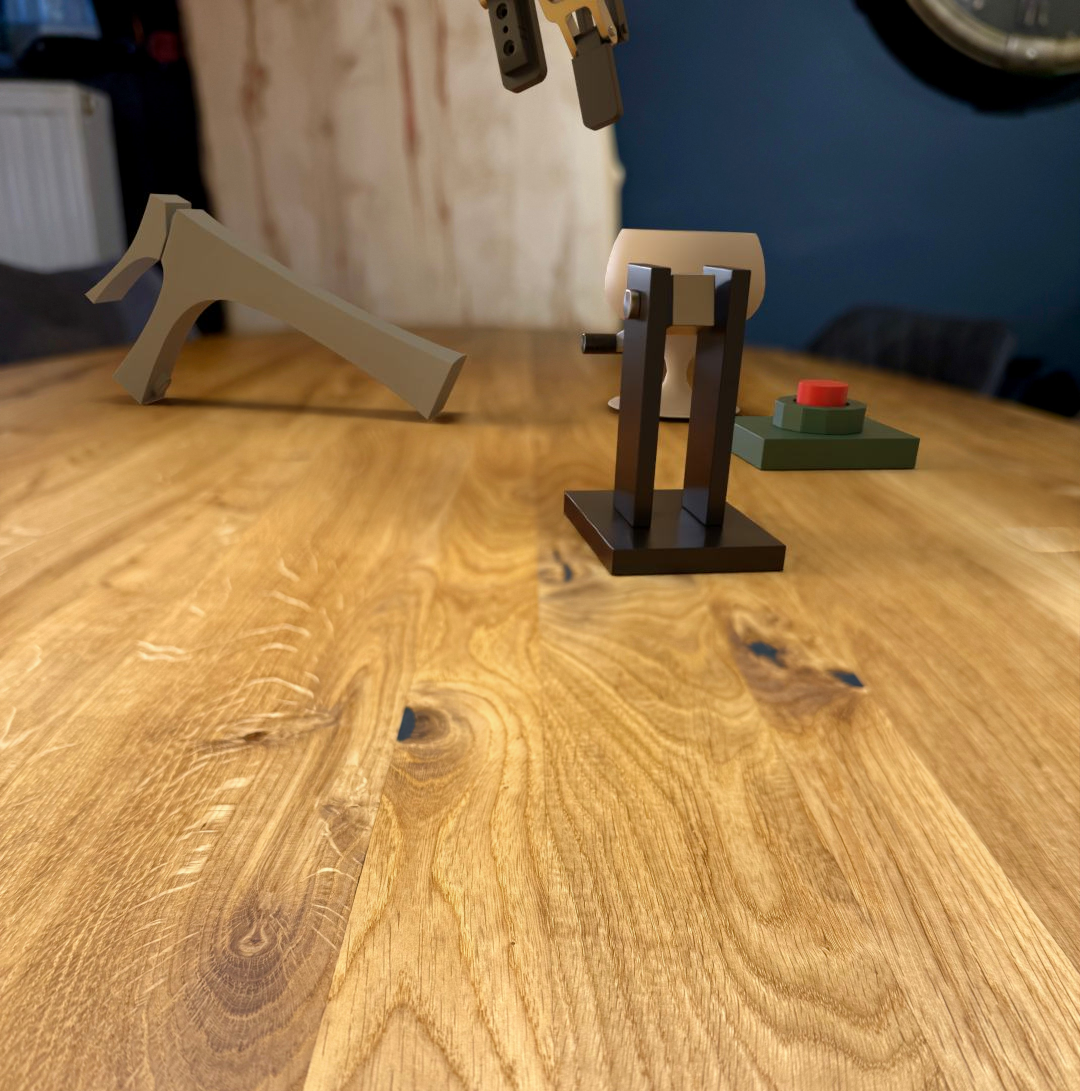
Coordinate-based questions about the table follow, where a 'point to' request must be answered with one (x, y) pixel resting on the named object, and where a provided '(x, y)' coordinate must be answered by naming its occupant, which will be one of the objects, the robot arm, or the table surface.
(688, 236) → the chalice
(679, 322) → the lever
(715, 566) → the bracket
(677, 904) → the table surface
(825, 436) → the button box
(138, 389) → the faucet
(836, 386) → the button
